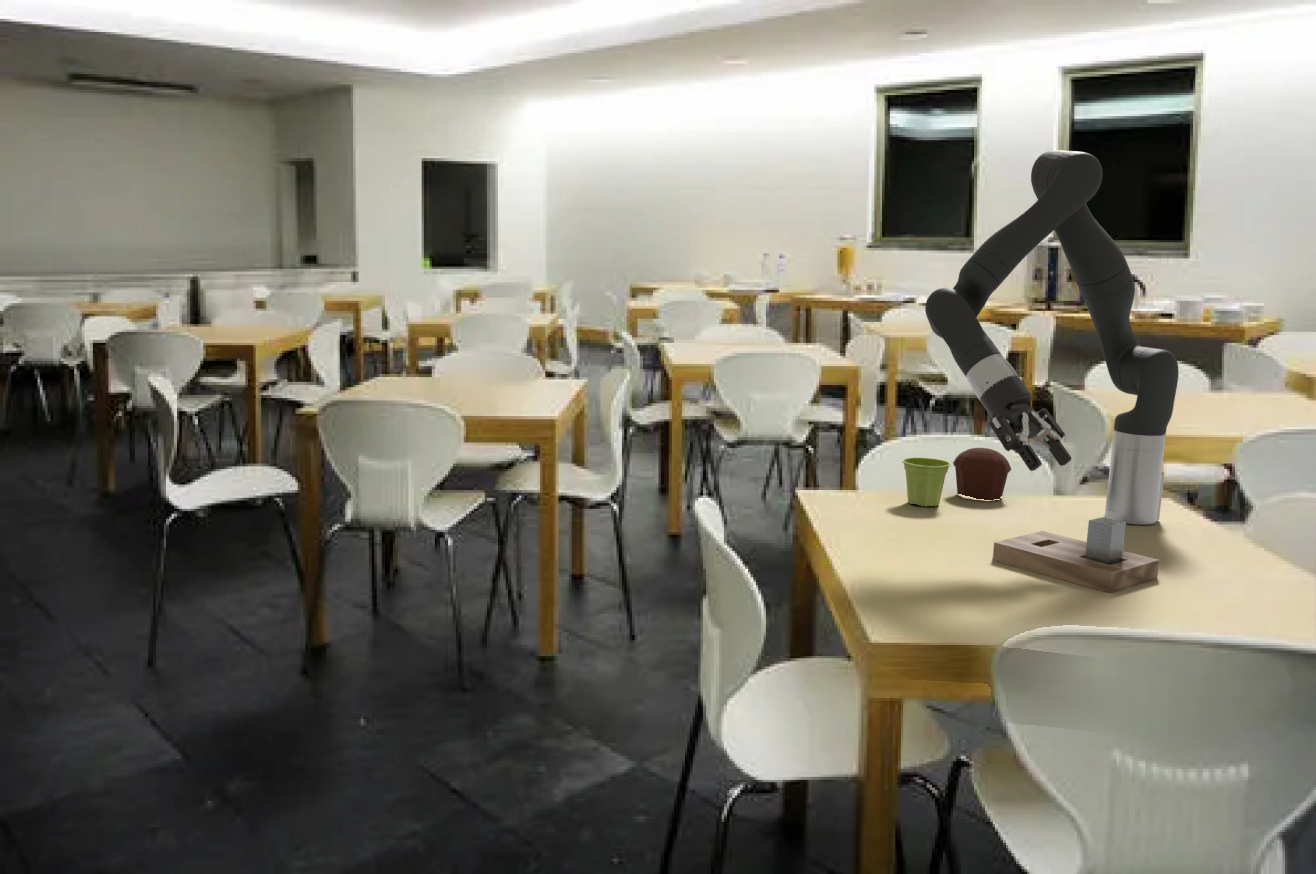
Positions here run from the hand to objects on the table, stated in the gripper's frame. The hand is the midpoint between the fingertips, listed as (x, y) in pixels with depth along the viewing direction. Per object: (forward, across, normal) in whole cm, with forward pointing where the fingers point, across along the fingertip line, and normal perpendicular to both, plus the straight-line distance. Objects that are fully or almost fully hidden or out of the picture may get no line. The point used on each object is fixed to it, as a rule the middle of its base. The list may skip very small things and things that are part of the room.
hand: (1052, 465), depth 187 cm
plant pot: (-15, +16, +38) cm, 44 cm away
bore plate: (+15, 0, +7) cm, 17 cm away
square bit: (+19, 0, +4) cm, 19 cm away
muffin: (-14, +32, +37) cm, 50 cm away
